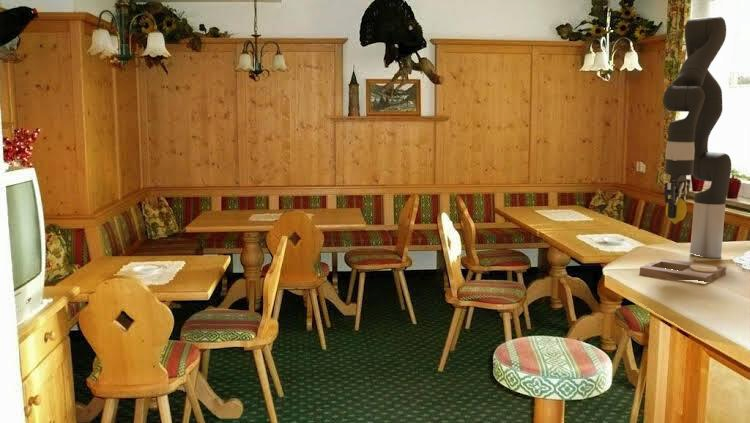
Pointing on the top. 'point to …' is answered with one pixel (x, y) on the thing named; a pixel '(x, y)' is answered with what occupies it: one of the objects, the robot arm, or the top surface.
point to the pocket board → (679, 270)
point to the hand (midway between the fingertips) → (675, 216)
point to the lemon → (678, 211)
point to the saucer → (703, 268)
